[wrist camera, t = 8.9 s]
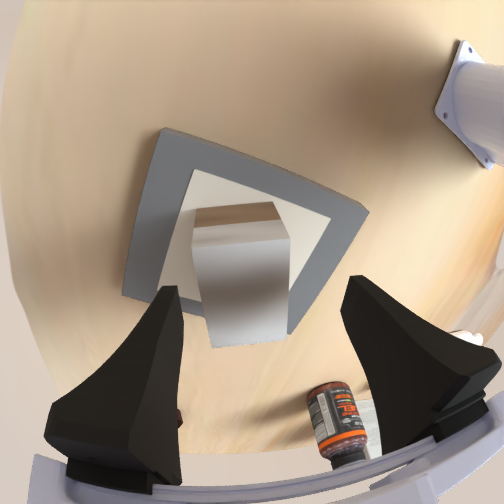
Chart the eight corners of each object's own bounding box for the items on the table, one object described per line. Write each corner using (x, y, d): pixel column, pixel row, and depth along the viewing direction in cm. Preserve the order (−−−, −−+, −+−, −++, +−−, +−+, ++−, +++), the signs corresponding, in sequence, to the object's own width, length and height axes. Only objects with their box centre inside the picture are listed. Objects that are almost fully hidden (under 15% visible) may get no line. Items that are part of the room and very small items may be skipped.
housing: (273, 292, 21) (286, 339, 17) (211, 299, 20) (212, 348, 16) (272, 201, 17) (290, 238, 13) (196, 208, 16) (191, 248, 13)
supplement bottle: (357, 380, 33) (385, 453, 23) (330, 403, 35) (351, 471, 26) (322, 378, 31) (349, 461, 21) (296, 402, 34) (315, 477, 24)
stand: (360, 203, 19) (370, 212, 18) (287, 322, 25) (290, 335, 23) (165, 127, 15) (160, 131, 14) (125, 282, 21) (121, 295, 19)
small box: (350, 420, 41) (366, 470, 32) (323, 423, 40) (339, 477, 31) (376, 397, 37) (398, 451, 29) (349, 399, 36) (370, 460, 27)
